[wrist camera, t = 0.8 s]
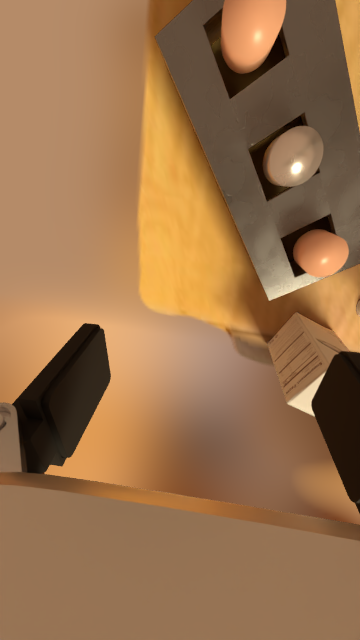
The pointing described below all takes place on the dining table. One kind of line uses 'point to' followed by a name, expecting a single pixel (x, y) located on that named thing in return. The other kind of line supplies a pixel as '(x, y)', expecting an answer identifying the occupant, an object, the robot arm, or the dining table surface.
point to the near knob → (249, 31)
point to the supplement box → (303, 358)
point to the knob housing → (267, 117)
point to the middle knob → (293, 157)
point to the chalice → (358, 308)
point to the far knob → (320, 252)
